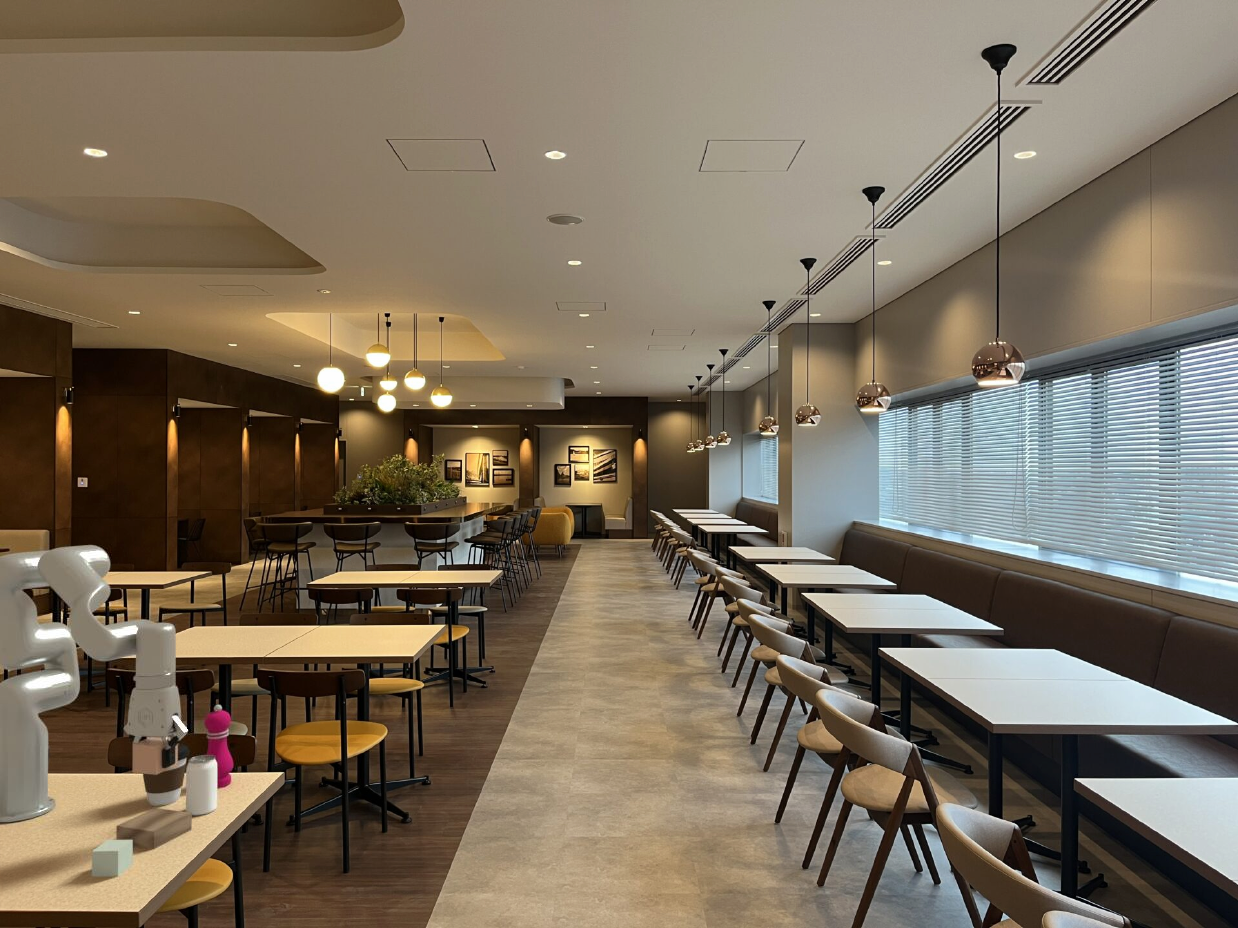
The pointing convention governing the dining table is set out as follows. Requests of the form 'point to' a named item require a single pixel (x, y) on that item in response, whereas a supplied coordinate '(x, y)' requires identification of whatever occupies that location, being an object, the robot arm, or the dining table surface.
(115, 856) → the sage cube
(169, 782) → the coffee cup
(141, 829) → the walnut block
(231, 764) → the pepper mill
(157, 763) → the clay cube
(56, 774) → the dining table surface
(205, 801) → the can
